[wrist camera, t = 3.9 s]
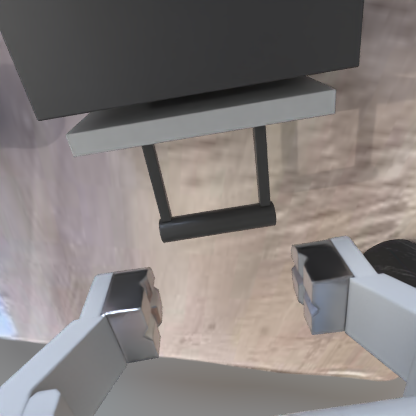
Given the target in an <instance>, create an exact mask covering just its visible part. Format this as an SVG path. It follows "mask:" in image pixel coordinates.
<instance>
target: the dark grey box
mask: <svg viewBox="0 0 416 416" xmlns="http://www.w3.org/2000/svg"><path fill="white" fill-rule="evenodd" d="M363 5H364V0H0V31H1V34H2V36H3V39H4V41H5V43H6V46H7V48H8V51H9V53H10V55H11V58H12V60H13V63H14V65H15V67H16V70H17V72H18V75H19V77H20V79H21V82H22V84H23V87H24V89H25V91H26V94H27V96H28V99H29V101H30V103H31V106H32V108H33V111H34V113H35V115H36V118H37V120H38V121H42V120H48V119H54V118H59V117H65V116H71V115H77V114H83V113H89V112H95V111H101V110H106V109H112V108H118V107H124V106H130V105H136V104H142V103H148V102H153V101H159V100H165V99H171V98H177V97H183V96H189V95H195V94H201V93H206V92H212V91H218V90H224V89H230V88H236V87H242V86H248V85H253V84H259V83H265V82H271V81H277V80H283V79H289V78H295V77H300V76H306V75H312V74H318V73H324V72H330V71H336V70H342V69H347V68H353V67H358V66H359V58H360V45H361V32H362V18H363Z"/></svg>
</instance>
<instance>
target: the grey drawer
mask: <svg viewBox="0 0 416 416" xmlns="http://www.w3.org/2000/svg"><path fill="white" fill-rule="evenodd" d="M335 105H336V89H334V88H332V87H330V86H327V85H325V84H323V83H321V82H318V81H316V80H314V79H312V78H309V77H307V76H300V77H295V78H289V79H283V80H277V81H271V82H265V83H259V84H253V85H248V86H242V87H236V88H230V89H224V90H218V91H212V92H206V93H201V94H195V95H189V96H183V97H177V98H171V99H165V100H159V101H153V102H148V103H142V104H136V105H130V106H124V107H118V108H112V109H106V110H101V111H95V112H90V113H89V114H88V115H87V116H86V117H85V118H84V119H83V120H81V121H80V122H79V123H78V124H77V125H76V126H75V127H74V128H73V129H72V130H70V131H69V132H68V133H67V134H66V137H67V140H68V143H69V145H70V148H71V151H72V153H73V156H74V157H78V156H84V155H90V154H96V153H102V152H108V151H114V150H120V149H126V148H132V147H138V146H142V149H143V153H144V157H145V160H146V164H147V168H148V172H149V175H150V179H151V183H152V187H153V190H154V194H155V198H156V202H157V205H158V209H159V213H160V217H161V219H160V220H159V230H160V235H161V239H162V241H163V242H164V243H165V242H172V241H178V240H184V239H191V238H197V237H203V236H210V235H216V234H222V233H229V232H235V231H242V230H248V229H254V228H261V227H267V226H273V225H276V213H275V208H274V205H273V203H272V201H270V189H269V174H268V158H267V142H266V127H265V125H270V124H276V123H282V122H288V121H294V120H300V119H306V118H312V117H318V116H324V115H330V114H335ZM252 127H253V137H254V149H255V161H256V173H257V185H258V197H259V203H256V204H250V205H244V206H238V207H231V208H225V209H219V210H213V211H206V212H200V213H194V214H187V215H181V216H175V217H172V214H171V210H170V206H169V202H168V198H167V194H166V190H165V186H164V182H163V178H162V174H161V170H160V166H159V161H158V157H157V153H156V149H155V145H154V144H156V143H162V142H168V141H174V140H180V139H186V138H192V137H198V136H204V135H210V134H216V133H222V132H228V131H234V130H240V129H246V128H252Z"/></svg>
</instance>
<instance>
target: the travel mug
mask: <svg viewBox="0 0 416 416" xmlns="http://www.w3.org/2000/svg"><path fill="white" fill-rule="evenodd" d="M363 255H364V257H365V258H366V259H367V261H368V262H369V263H370V264H371V266H372V267H373V268H374V270H375V271H376V272H377V273H378V274H382V273H384V274H386V275H389V276H391V277H393V278H395V279H397V280H399V281H401V282H404V283H406V284H408V285H410V286H412V287H414V288H416V244H414V243H412V242H410V241H406V240H391V241H386V242H383V243H380V244H378V245H376V246H374V247H372V248H371V249H369V250H368V251H366V252H365V253H364V254H363Z"/></svg>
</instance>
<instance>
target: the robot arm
mask: <svg viewBox="0 0 416 416" xmlns="http://www.w3.org/2000/svg"><path fill="white" fill-rule="evenodd" d="M291 257H292V259H293V262H294V264H295V265H294V267H293V268H292V280H293V285H294V290H295V293H296V296H297V299H298V301H299V303H301V304H302V305H304V316H305V319H306V321H307V324H308V326H309V329H310V331H311V334H312V335H316V334H324V333H333V332H341V331H345V333H346V334H347V335H349V336H350V337H351V338H352V339H353V340H355V341H356V342H357V343H358V344H360V345H361V346H362V347H363V348H365V349H366V350H367V351H368V352H370V353H371V354H372V355H373V356H375V357H376V358H377V359H378V360H380V361H381V362H382V363H383V364H384V365H386V366H387V367H388V368H389V369H391V370H392V371H393V372H394V373H396V374H397V375H398V376H399V377H401V378H402V379H403V380H404V381H406V382H407V383H406V387H405V390H404V394H403V397H402V398H395V399H388V400H381V401H374V402H367V403H360V404H353V405H347V406H340V407H332V408H325V409H319V410H311V411H305V412H297V413H290V414H283V415H275V416H416V288H414V287H412V286H410V285H408V284H406V283H404V282H401V281H399V280H397V279H395V278H393V277H391V276H389V275H386V274H384V273H382V274H378V273H377V272H376V271H375V270H374V268H373V267H372V266H371V264H370V263H369V262H368V261H367V259H366V258H365V257H364V255H363V254H362V253H361V251H360V250H359V249H358V248H357V246H356V245H355V244H354V242H353V241H352V240H351V239H350V237H348V236H341V237H335V238H330V239H328V240H321V241H315V242H308V243H302V244H296V245H292V248H291ZM154 280H155V277H154V274H153V271H152V269H151V268H150V267H147V268H139V269H132V270H124V271H117V272H111V273H104V274H98V275H97V276H95V278H94V280H93V282H92V285H91V288H90V291H89V293H88V296H87V299H86V301H85V304H84V307H83V309H82V312H81V315H80V317H79V320H73V321H72V322H71V323H70V324H69V325H68V326H67V327H66V328H64V329H63V330H62V331H61V332H60V333H59V334H58V335H57V336H56V337H55V338H53V339H52V340H51V341H50V342H49V343H48V344H47V345H46V346H45V347H44V348H43V349H42V350H40V351H39V352H38V353H37V354H36V355H35V356H34V357H33V358H32V359H30V360H29V362H27V363H26V364H25V365H24V366H23V367H22V368H21V369H20V370H18V372H16V373H15V374H14V375H13V376H12V377H11V378H10V379H8V380H7V381H6V382H5V383H4V384H3V385H2V386H1V387H0V416H93V415H94V414H95V413H96V411H97V410H98V408H99V407H100V405H101V404H102V402H103V401H104V399H105V398H106V396H107V395H108V393H109V392H110V390H111V389H112V387H113V385H114V384H115V383H116V381H117V380H118V378H119V377H120V375H121V374H122V372H123V371H124V369H125V368H126V366H127V363H130V362H136V361H142V360H148V359H153V358H158V357H159V348H160V338H161V336H160V333H159V330H158V327H159V325H160V324H161V323H162V302H161V297H160V293H159V290H158V289H157V288H155V287H154Z"/></svg>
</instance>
